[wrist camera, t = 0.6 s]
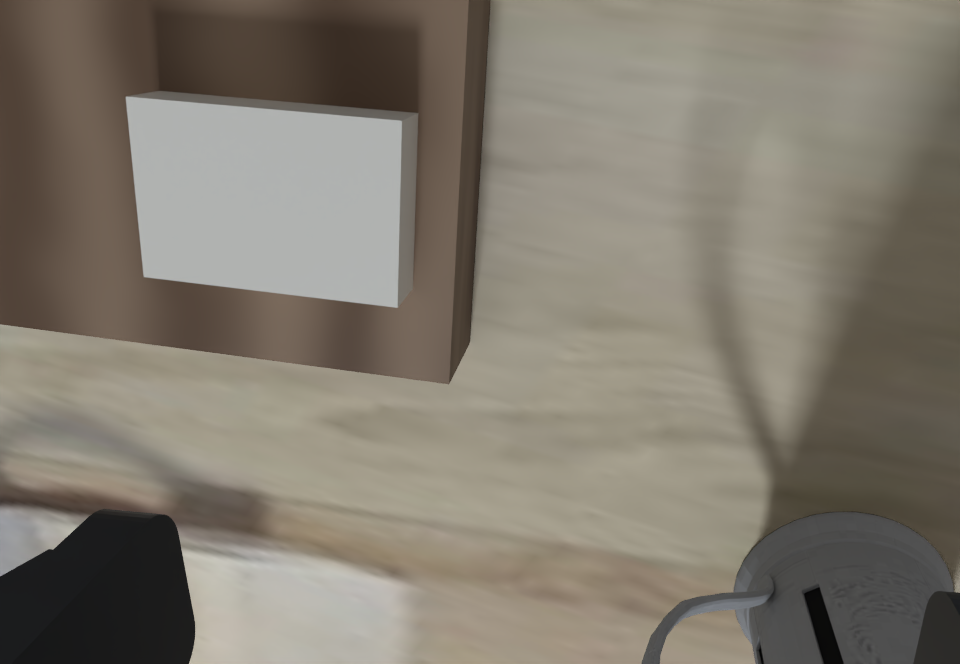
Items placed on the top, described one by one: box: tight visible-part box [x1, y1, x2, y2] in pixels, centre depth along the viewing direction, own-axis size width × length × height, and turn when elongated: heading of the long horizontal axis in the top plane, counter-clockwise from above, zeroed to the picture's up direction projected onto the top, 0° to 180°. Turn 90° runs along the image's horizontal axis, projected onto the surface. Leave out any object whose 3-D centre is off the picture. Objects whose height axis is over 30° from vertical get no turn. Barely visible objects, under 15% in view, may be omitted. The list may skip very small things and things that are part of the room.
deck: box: [0, 0, 490, 384], centre depth 30 cm, size 20×13×4 cm, turn 87°
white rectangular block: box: [126, 91, 418, 308], centre depth 27 cm, size 9×6×2 cm, turn 87°
